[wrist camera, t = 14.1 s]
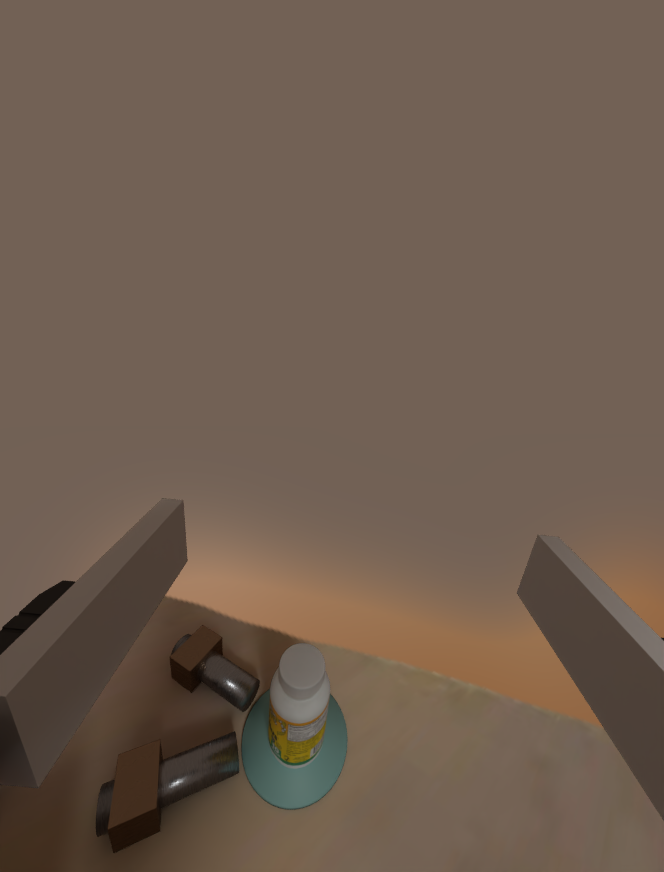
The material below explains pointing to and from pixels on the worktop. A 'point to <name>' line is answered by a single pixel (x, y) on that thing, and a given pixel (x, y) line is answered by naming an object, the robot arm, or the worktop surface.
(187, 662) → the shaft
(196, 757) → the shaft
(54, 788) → the worktop surface
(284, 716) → the supplement bottle
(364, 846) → the worktop surface
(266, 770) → the disc
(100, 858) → the worktop surface
